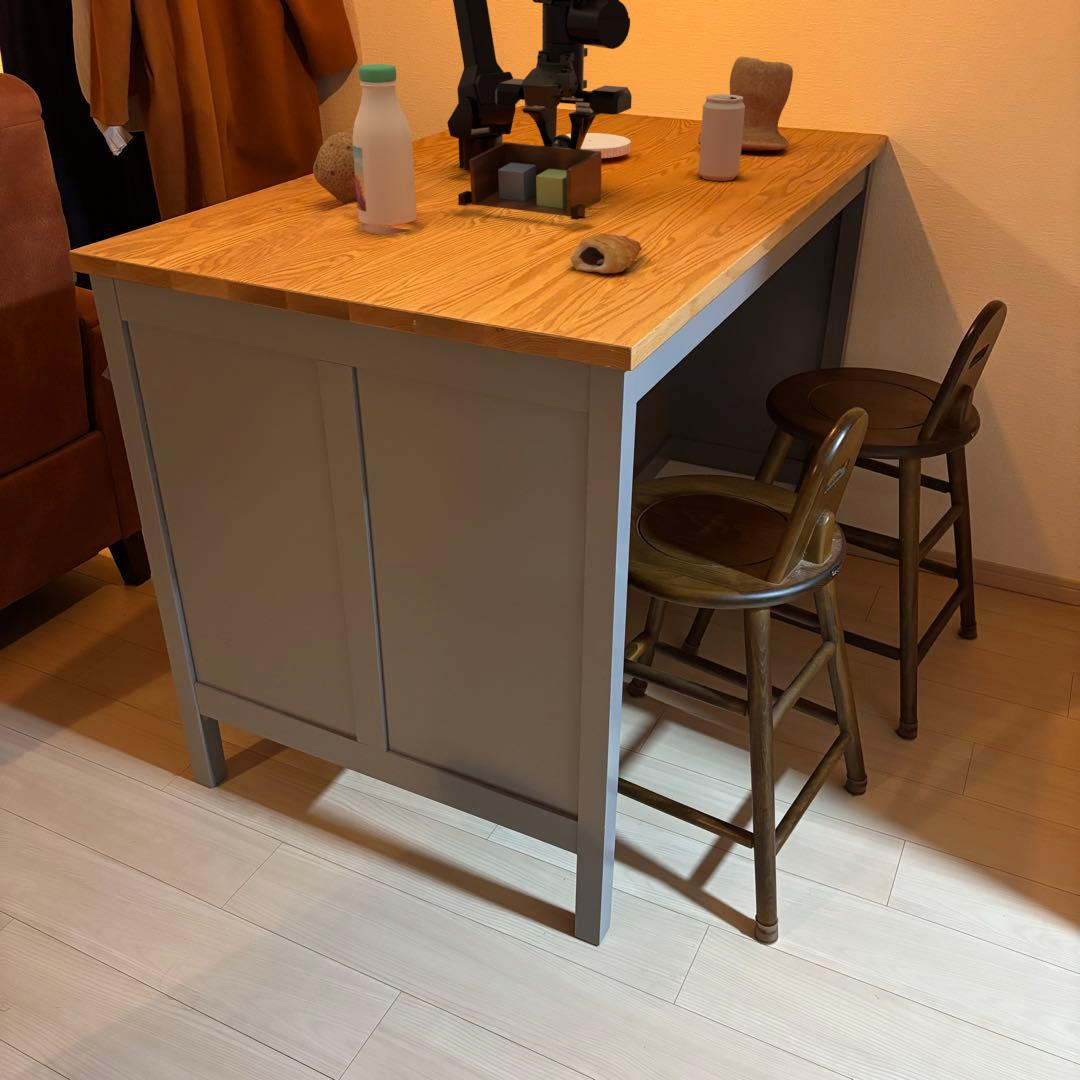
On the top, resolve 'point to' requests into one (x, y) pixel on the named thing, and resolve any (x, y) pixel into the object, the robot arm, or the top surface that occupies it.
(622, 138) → the plastic lid
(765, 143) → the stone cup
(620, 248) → the pastry
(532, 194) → the slate block
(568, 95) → the robot arm
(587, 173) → the bin
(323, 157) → the natural sponge
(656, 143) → the top surface
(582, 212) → the pivot brackets
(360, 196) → the milk bottle
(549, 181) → the sage block
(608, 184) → the top surface
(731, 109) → the beverage can
